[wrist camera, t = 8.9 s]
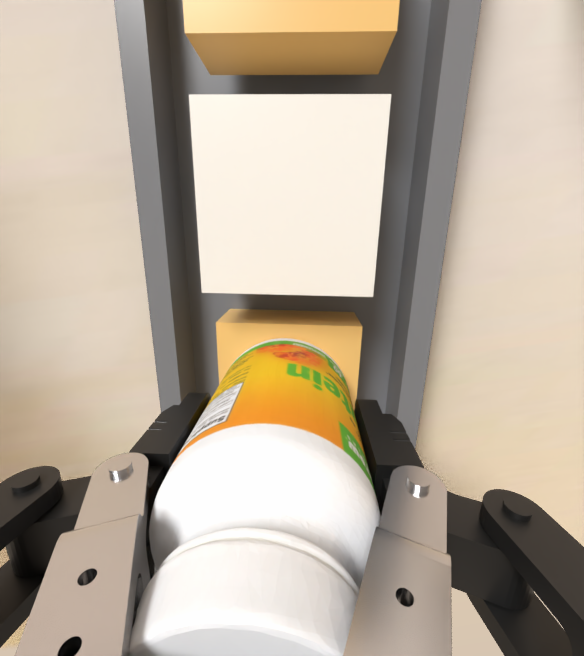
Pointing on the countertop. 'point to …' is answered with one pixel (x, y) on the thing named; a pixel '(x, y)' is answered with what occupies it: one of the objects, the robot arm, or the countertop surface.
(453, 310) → the countertop surface
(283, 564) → the supplement bottle
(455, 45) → the keypad base
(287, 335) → the key
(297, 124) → the key
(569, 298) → the countertop surface
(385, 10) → the key
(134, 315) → the countertop surface
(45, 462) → the countertop surface
